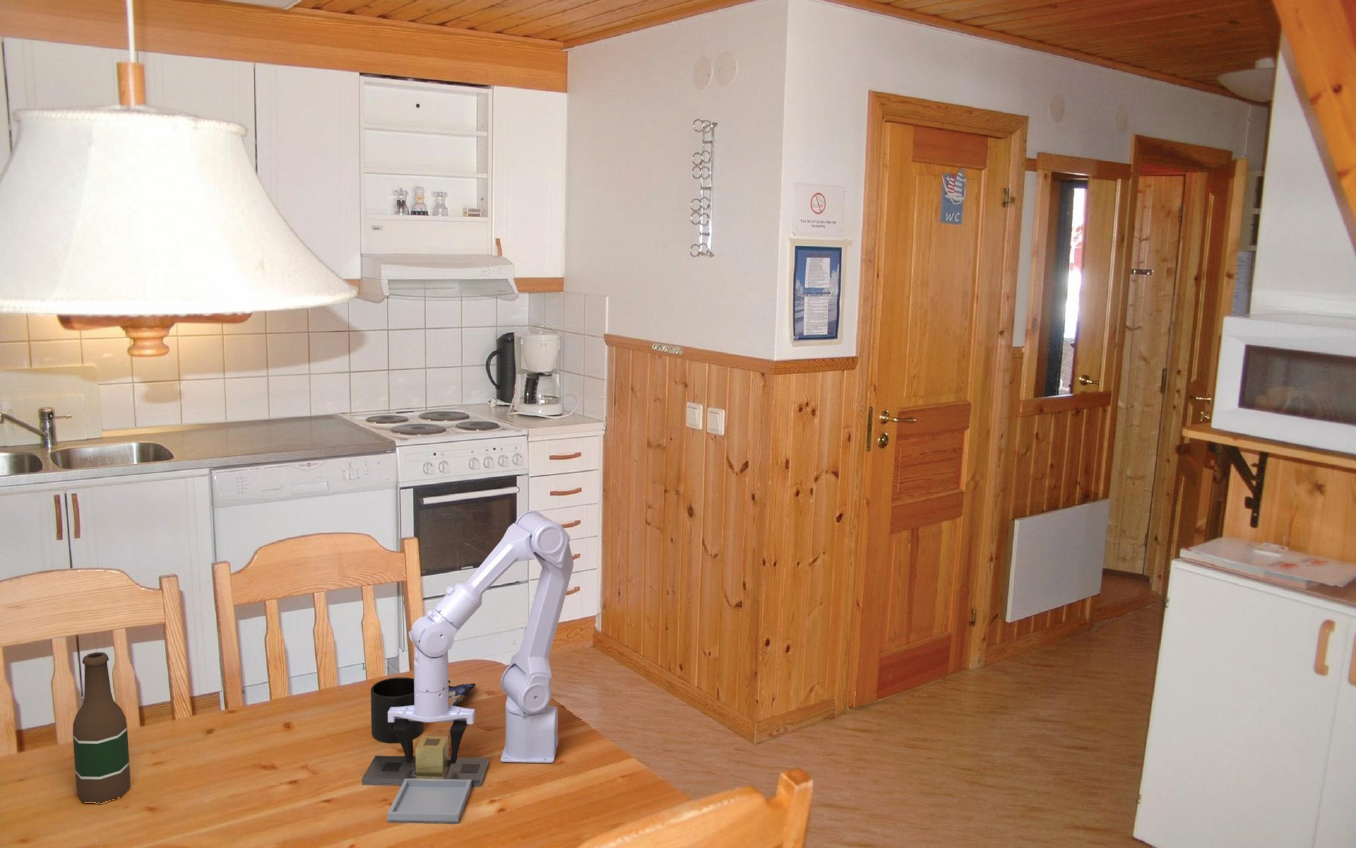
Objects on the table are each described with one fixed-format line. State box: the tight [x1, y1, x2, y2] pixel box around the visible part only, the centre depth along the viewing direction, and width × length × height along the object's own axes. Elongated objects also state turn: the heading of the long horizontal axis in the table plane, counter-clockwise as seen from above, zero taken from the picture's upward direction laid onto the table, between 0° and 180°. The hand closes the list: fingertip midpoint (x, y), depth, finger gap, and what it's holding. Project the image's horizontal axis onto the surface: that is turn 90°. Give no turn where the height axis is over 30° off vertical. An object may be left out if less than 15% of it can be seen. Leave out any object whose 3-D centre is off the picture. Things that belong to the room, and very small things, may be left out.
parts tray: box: [386, 778, 473, 825], centre depth 168 cm, size 11×11×2 cm
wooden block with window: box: [415, 735, 450, 777], centre depth 177 cm, size 5×5×6 cm
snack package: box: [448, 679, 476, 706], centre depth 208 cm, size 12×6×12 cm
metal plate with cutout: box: [361, 755, 489, 788], centre depth 178 cm, size 20×8×1 cm, turn 91°
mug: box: [370, 676, 424, 744], centre depth 191 cm, size 9×12×9 cm
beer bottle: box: [72, 651, 131, 803], centre depth 167 cm, size 8×8×24 cm
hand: (431, 760), depth 177 cm, fingers open, 7 cm apart
